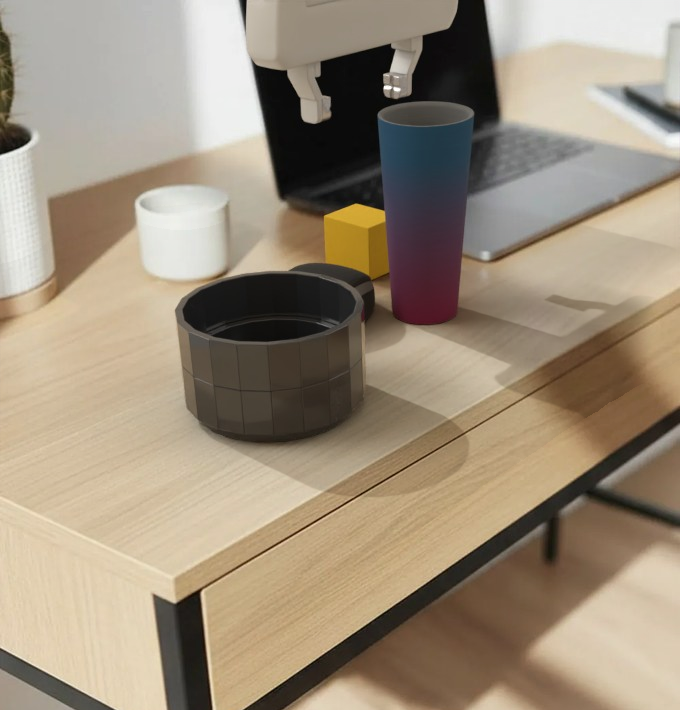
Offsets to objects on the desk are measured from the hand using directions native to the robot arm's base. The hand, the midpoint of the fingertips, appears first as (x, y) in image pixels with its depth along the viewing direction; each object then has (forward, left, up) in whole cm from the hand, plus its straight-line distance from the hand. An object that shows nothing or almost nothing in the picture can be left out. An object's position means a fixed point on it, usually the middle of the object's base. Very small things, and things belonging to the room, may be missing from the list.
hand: (358, 108), depth 94 cm
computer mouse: (-5, +11, -13) cm, 18 cm away
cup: (-10, +4, -13) cm, 17 cm away
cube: (0, 0, -13) cm, 13 cm away
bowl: (-12, +22, -13) cm, 28 cm away
